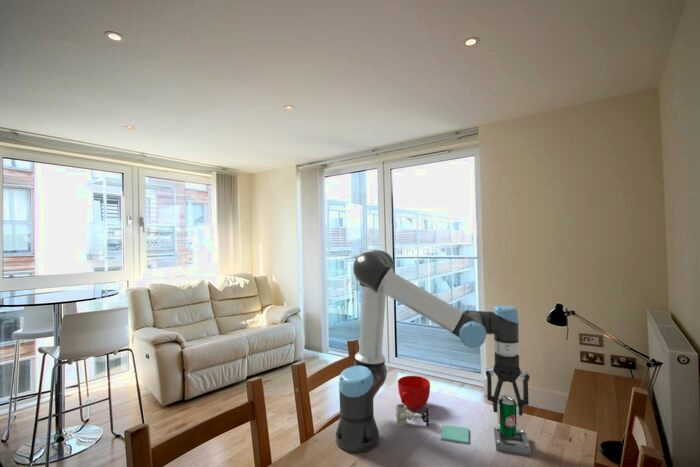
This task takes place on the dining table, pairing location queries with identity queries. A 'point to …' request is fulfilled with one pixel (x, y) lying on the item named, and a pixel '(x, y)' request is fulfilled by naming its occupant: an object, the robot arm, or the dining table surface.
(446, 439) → the pad
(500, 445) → the frame
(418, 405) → the ceramic cup
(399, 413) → the valve
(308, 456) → the dining table surface
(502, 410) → the soda can
